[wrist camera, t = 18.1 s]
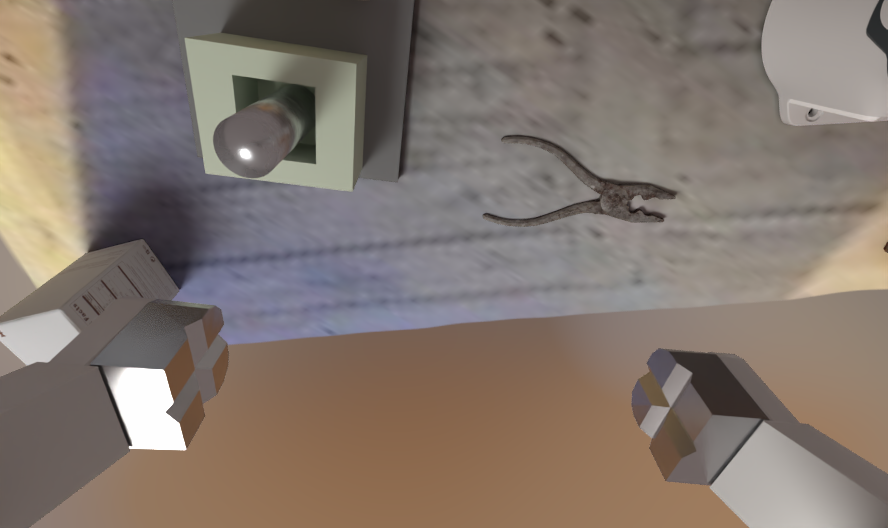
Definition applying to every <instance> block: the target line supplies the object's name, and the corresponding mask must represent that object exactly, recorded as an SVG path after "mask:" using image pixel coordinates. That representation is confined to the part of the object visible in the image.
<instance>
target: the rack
mask: <svg viewBox="0 0 888 528" xmlns="http://www.w3.org/2000/svg"><path fill="white" fill-rule="evenodd" d="M185 45H186V51H187V58H188V64H189V70H190V77H191V83H192V90H193V96H194V102H195V109H196V115H197V122H198V128H199V134H200V141H201V147H202V154H203V160H204V167H205V173H206V174H214V175H222V176H230V177H238V178H246V177H242V176H239V175H237V174H235V173H233V172H232V171H230V170H229V169H228V168H226V167H225V166H224V165H223V164H222V162H221V161H220V160H219V158H218V156H217V154H216V152H215V149H214V145H213V135H214V131H215V129H216V127H217V125H218V124H219V123H220V122H221V121H222V120H224V119H226V118H228V117H229V116H231V115H233V114H235V113H237V112H239V111H240V110H242V109H244V108H246V107H248V106H249V105H251V104H253V103H255V102H257V101H259V100H260V99H262V98H264V97H266V96H268V95H270V94H271V93H273V92H275V91H277V90H279V89H280V88H282V87H284V86H286V85H290V84H297V85H301V86H303V87H305V88H307V89H309V90H310V91H311V92H312V93H313V94H314V95H315V115H316V126H315V127H314V128H313V129H312V130H311V131H310V132H309V133H308V134H307V135H306V136H305V137H304V138H303V139H302V140H301V141H300V142H299V143H298V144H297V145H296V146H295V148H294V149H293V150H292V151H291V152H290V153H289V154H288V155H287V156H286V157H285V158H284V159H283V160H282V161H281V162H280V163H279V164H278V165H277V166H276V167H275V168H274V169H273V170H272V171H271V172H270V173H269V174H267V175H265V176H263V177H260V178H246V179H254V180H262V181H270V182H278V183H286V184H294V185H302V186H310V187H319V188H327V189H335V190H343V191H351V192H352V191H353V189H354V187H355V184H356V182H357V180H358V177H359V175H360V173H361V170H362V166H363V143H364V121H365V98H366V76H367V55H363V54H356V53H350V52H343V51H337V50H330V49H324V48H317V47H311V46H304V45H298V44H291V43H285V42H278V41H272V40H266V39H259V38H253V37H246V36H240V35H233V34H227V33H214V34H207V35H200V36H193V37H186V38H185Z"/></svg>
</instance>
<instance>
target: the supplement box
mask: <svg viewBox="0 0 888 528" xmlns="http://www.w3.org/2000/svg"><path fill="white" fill-rule="evenodd" d="M178 292H179V289H178V287H177V286H176V284H175V283H174V281H173V280H172V279H171V277H170V276H169V274H168V273H167V271H166V270H165V268H164V267H163V266H162V264H161V263H160V261H159V260H158V259H157V257H156V256H155V254H154V253H153V252H152V250H151V249H150V248H149V246H148V245H147V243H146V242H145V241H144V240H143V239H140V240H136V241H131V242H127V243H124V244H120V245H116V246H112V247H108V248H104V249H100V250H97V251H93V252H89V253H85V254H84V255H83V256H82V257H80V258H79V259H78V260H76V261H75V262H73V263H72V264H71V265H69V266H68V267H67V268H65V269H64V270H63V271H61V272H60V273H58V274H57V275H56V276H54V277H53V278H52V279H50V280H49V281H48V282H46V283H45V284H43V285H42V286H41V287H39V288H38V289H37V290H35V291H34V292H33V293H31V294H30V295H28V296H27V297H26V298H24V299H23V300H22V301H20V302H19V303H18V304H16V305H15V306H13V307H12V308H11V309H9V310H8V311H7V312H5V313H4V314H3V315H1V316H0V341H1V342H2V343H3V344H4V345H5V346H6V347H7V348H8V349H9V350H11V351H12V352H13V353H14V354H15V355H16V356H17V357H18V358H19V359H20V360H22V361H23V362H24V363H25V364H26V365H27V366H28V365H30V364H33V363H35V362H49V361H50V360H51V359H52V358H54V357H55V356H56V355H57V354H58V353H59V352H60V351H61V350H62V349H63V348H64V347H65V346H67V345H68V344H69V343H70V342H71V341H72V340H73V339H74V338H75V337H76V336H77V335H78V334H79V333H81V332H82V331H83V330H84V329H85V328H86V327H87V326H88V325H89V324H90V323H91V322H92V321H94V320H95V319H96V318H97V317H98V316H99V315H100V314H101V313H102V312H103V311H104V310H105V309H107V308H108V307H109V306H110V305H111V304H112V303H113V302H114V301H115V300H116V299H118V298H122V297H125V296H132V297H141V298H150V299H162V300H172V299H173V298H174V297H175V296H176V295H177V293H178Z"/></svg>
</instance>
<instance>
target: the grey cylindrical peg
mask: <svg viewBox="0 0 888 528" xmlns="http://www.w3.org/2000/svg"><path fill="white" fill-rule="evenodd" d="M315 126H316V115H315V95H314V94H313V93H312V92H311V91H310V90H309V89H307V88H305V87H303V86H301V85H297V84H290V85H286V86H284V87H282V88H280V89H279V90H277V91H275V92H273V93H271V94H270V95H268V96H266V97H264V98H262V99H260V100H259V101H257V102H255V103H253V104H251V105H249V106H248V107H246V108H244V109H242V110H240V111H239V112H237V113H235V114H233V115H231V116H229V117H228V118H226V119H224V120H222V121H221V122H220V123H219V124H218V125H217V127H216V129H215V131H214V135H213V145H214V149H215V152H216V154H217V156H218V158H219V160H220V161H221V162H222V164H223V165H224V166H225V167H226V168H228V169H229V170H230V171H232V172H233V173H235V174H237V175H239V176H242V177H246V178H260V177H263V176H265V175H267V174H269V173H270V172H271V171H272V170H273V169H274V168H275V167H276V166H277V165H278V164H279V163H280V162H281V161H282V160H283V159H284V158H285V157H286V156H287V155H288V154H289V153H290V152H291V151H292V150H293V149H294V148H295V146H296V145H297V144H298V143H299V142H300V141H301V140H302V139H303V138H304V137H305V136H306V135H307V134H308V133H309V132H310V131H311V130H312V129H313V128H314V127H315Z"/></svg>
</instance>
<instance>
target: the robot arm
mask: <svg viewBox="0 0 888 528" xmlns="http://www.w3.org/2000/svg"><path fill="white" fill-rule="evenodd" d="M762 59H763V64H764V67H765V71H766V73H767V75H768V77H769V79H770V81H771V82H772V84H773V85H774V87H775V88H776V90H777V92H778V95H779V110H780V117H781V120H782V121H783V123H785V124H788V125H794V126H804V125H821V124H838V123H855V122H872V121H888V0H772V2H771V5H770V7H769V10H768V13H767V16H766V20H765V24H764V28H763V34H762ZM811 109H812V111H811V112H810V113H809V111H810V110H811ZM808 113H809V114H808ZM223 325H224V321H223V316H222V311H221V309H220V308H218V307H217V306H213V305H205V304H196V303H188V302H179V301H171V300H162V299H150V298H141V297H132V296H125V297H122V298H118V299H116V300H115V301H114V302H113V303H112V304H111V305H110V306H109V307H108V308H107V309H105V310H104V311H103V312H102V313H101V314H100V315H99V316H98V317H97V318H96V319H95V320H94V321H92V322H91V323H90V324H89V325H88V326H87V327H86V328H85V329H84V330H83V331H82V332H81V333H79V334H78V335H77V336H76V337H75V338H74V339H73V340H72V341H71V342H70V343H69V344H68V345H67V346H65V347H64V348H63V349H62V350H61V351H60V352H59V353H58V354H57V355H56V356H55V357H54V358H52V359H51V360H50V361H49V362H35V363H33V364H30V365H28V366H26V367H23V368H21V369H18V370H16V371H14V372H11V373H9V374H6V375H4V376H2V377H0V528H29V527H31V526H32V525H33V524H34V523H36V522H37V521H38V520H40V519H41V518H42V517H44V516H45V515H46V514H48V513H49V512H50V511H52V510H53V509H54V508H56V507H57V506H58V505H60V504H61V503H62V502H63V501H65V500H66V499H68V498H69V497H70V496H71V495H73V494H74V493H75V492H77V491H78V490H79V489H81V488H82V487H83V486H85V485H86V484H87V483H89V482H90V481H91V480H93V479H94V478H95V477H97V476H98V475H99V474H100V473H102V472H103V471H105V470H106V469H107V468H108V467H110V466H111V465H112V464H114V463H115V462H116V461H117V460H119V459H120V458H122V457H123V456H124V455H126V454H127V453H128V452H129V451H130V448H145V449H171V450H172V449H173V450H186V449H187V447H188V446H189V444H190V442H191V440H192V439H193V437H194V435H195V433H196V432H197V430H198V428H199V426H200V424H201V423H202V421H203V419H204V417H205V413H204V408H203V403H205V402H206V401H208V400H210V399H211V398H213V397H214V396H216V395H217V394H218V392H219V390H220V388H221V386H222V384H223V382H224V379H225V375H226V372H227V368H228V360H229V351H228V344H227V342H226V341H225V340H224V339H223V338H222V337H221V336H220V335H219V334H218V333H219V332H220V330H221V328H222V327H223ZM647 365H648V368H649V371H650V372H649V373H647V374H646V375H644V376H643V377H641V378H639V379H638V381H637V383H636V385H635V387H634V389H633V391H632V410H633V414H634V417H635V419H636V421H637V424H638V426H639V428H640V429H642V430H643V431H644V432H645V433H646V434H647V435H649V436H650V437H651V438H652V440H651V444H650V447H649V449H650V450H651V453H652V455H653V457H654V459H655V461H656V463H657V465H658V467H659V469H660V471H661V473H662V475H663V477H664V479H665V481H668V482H679V483H690V484H700V485H711V486H710V489H711V490H712V491H713V492H714V493H715V494H716V495H717V496H718V497H719V498H720V499H721V500H722V501H723V502H724V503H725V504H726V505H727V506H728V507H729V508H730V509H731V510H732V511H733V512H734V513H735V514H736V515H737V516H738V517H739V518H740V519H741V520H742V521H743V522H744V523H745V524H746V525H747V526H748V527H749V528H888V474H887V473H885V472H884V471H882V470H881V469H879V468H877V467H876V466H874V465H873V464H871V463H869V462H868V461H866V460H865V459H863V458H861V457H860V456H858V455H857V454H855V453H853V452H852V451H850V450H849V449H847V448H846V447H844V446H842V445H840V444H839V443H838V442H836V441H834V440H833V439H831V438H829V437H828V436H826V435H825V434H823V433H821V432H820V431H818V430H817V429H815V428H814V427H812V426H810V425H809V424H802V423H799V422H798V420H797V419H796V418H795V417H794V416H793V415H792V414H791V412H790V411H789V410H788V409H787V408H786V407H785V406H784V405H783V403H782V402H781V401H780V400H779V399H778V398H777V397H776V395H775V394H774V393H773V392H772V391H771V390H770V389H769V388H768V386H767V385H766V384H765V383H764V382H763V381H762V380H761V378H760V377H759V376H758V375H757V374H756V373H755V372H754V371H753V369H752V368H751V367H750V366H749V365H748V364H747V363H746V362H745V360H744V359H742V358H740V357H739V356H737V355H735V354H726V353H713V352H709V353H705V352H694V351H683V350H682V351H681V350H672V349H661V348H659V349H658V350H656V351H655V352H654V353H652V355H651V356H650V358H649V360H648V362H647Z"/></svg>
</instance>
